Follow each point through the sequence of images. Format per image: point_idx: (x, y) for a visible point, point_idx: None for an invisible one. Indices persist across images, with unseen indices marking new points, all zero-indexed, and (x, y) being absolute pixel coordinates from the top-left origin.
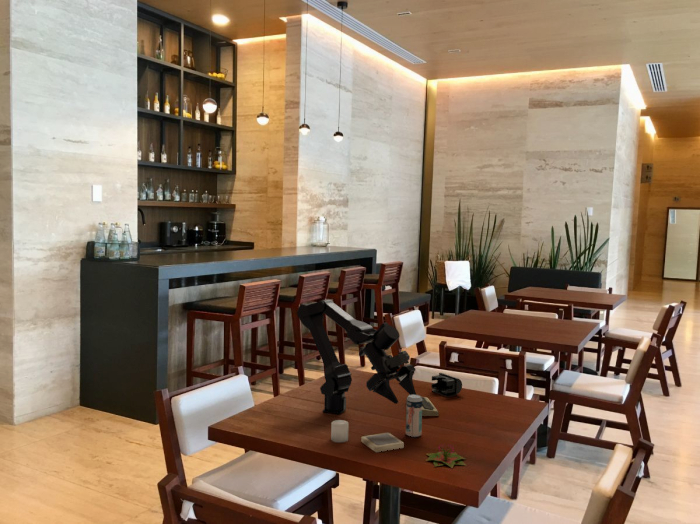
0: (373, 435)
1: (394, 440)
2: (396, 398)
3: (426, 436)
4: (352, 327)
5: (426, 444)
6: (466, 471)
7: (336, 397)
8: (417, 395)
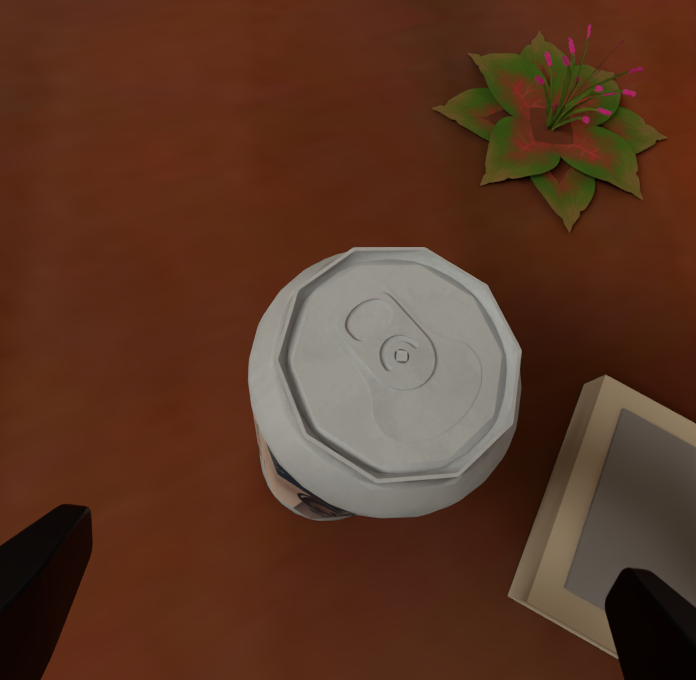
0: None
1: (635, 446)
2: (679, 617)
3: None
4: None
5: None
6: (589, 22)
7: None
8: (280, 355)
